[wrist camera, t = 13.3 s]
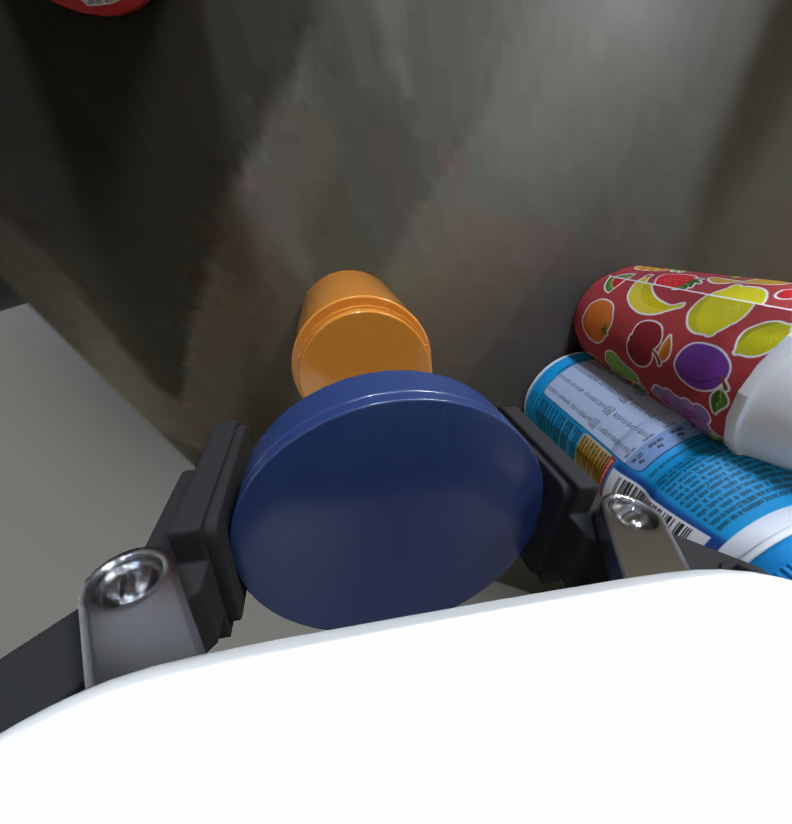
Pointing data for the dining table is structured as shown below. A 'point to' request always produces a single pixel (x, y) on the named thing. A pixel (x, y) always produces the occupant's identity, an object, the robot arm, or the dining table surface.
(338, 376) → the jar
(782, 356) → the smoothie
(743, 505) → the beverage bottle
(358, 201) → the dining table surface
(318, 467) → the lid
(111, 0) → the canned food
